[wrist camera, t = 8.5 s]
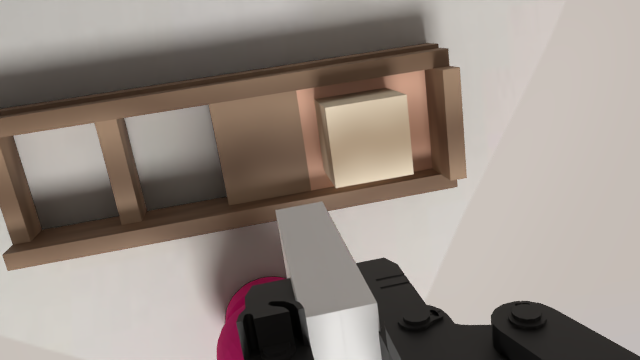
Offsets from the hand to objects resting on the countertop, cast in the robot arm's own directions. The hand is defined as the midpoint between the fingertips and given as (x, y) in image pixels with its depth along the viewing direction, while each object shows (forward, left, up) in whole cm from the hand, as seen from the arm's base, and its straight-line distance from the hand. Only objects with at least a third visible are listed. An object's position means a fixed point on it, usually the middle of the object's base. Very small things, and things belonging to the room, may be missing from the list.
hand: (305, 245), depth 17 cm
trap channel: (0, -2, -18) cm, 18 cm away
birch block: (0, +5, -16) cm, 17 cm away
